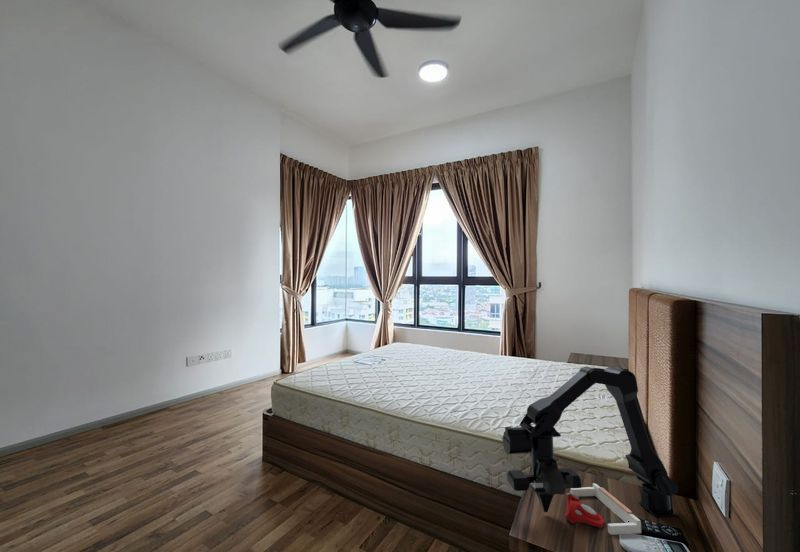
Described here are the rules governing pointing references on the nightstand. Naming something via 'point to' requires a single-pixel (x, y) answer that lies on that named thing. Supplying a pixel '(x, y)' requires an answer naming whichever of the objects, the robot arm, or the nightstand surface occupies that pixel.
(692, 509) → the nightstand surface
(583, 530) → the nightstand surface
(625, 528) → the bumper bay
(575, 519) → the tracker holder
